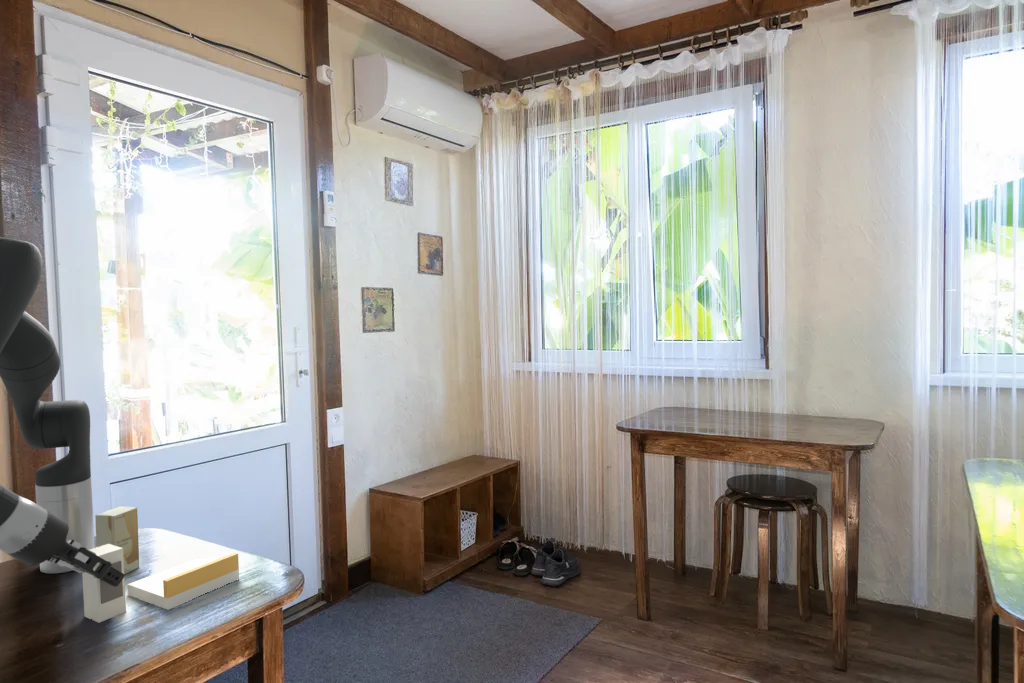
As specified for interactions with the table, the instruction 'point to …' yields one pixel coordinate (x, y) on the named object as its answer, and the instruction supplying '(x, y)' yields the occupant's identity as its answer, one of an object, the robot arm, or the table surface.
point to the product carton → (104, 587)
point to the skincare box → (120, 533)
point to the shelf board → (185, 581)
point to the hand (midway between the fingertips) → (105, 575)
